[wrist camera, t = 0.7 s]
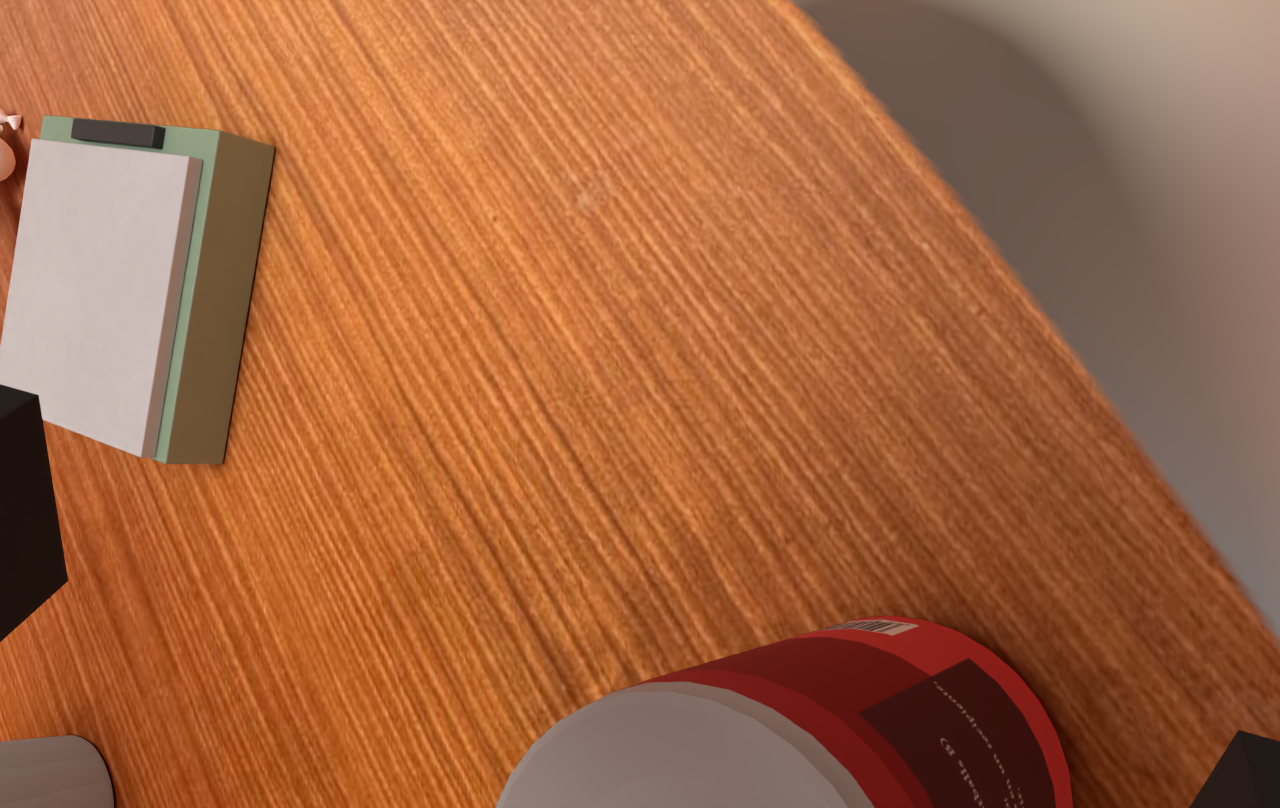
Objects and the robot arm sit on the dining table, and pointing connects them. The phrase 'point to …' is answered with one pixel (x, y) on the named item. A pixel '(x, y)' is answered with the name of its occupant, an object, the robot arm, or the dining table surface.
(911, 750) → the canned food
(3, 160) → the rabbit figurine
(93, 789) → the cup
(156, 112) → the dining table surface
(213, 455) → the scale
